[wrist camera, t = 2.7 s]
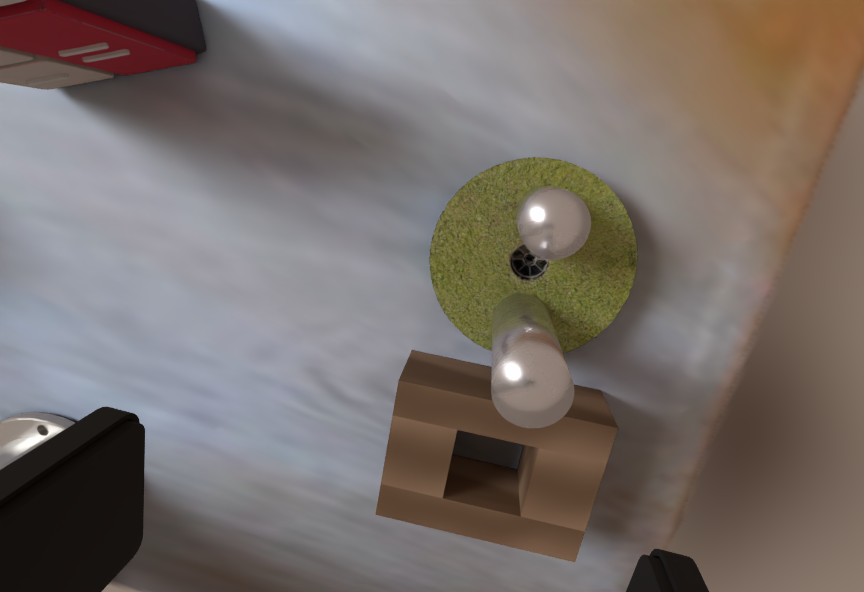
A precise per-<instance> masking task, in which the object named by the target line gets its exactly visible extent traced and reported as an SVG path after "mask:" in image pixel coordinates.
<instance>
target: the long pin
mask: <svg viewBox="0 0 864 592" xmlns="http://www.w3.org/2000/svg"><path fill="white" fill-rule="evenodd" d="M491 395H492V400H493V403H494V405H495V407H496V409H497V411H498V412H499V413H500V414H501V416H503V417H504V418H505V419H506V420H507V421H509V422H511V423H512V424H514V425H517V426H520V427H524V428H533V429H534V428H542V427H546V426H549V425H552V424H554V423H556V422H557V421H559V420H560V419H561V418H563V416H564V415H565V414H566V413H567V412H568V410H569V409H570V407H571V405H572V402H573V399H574V384H573V380H572V378H571V375H570V372H569V369H568V366H567V364H566V361H565V358H564V355H563V352H562V349H561V347H560V344H559V341H558V338H557V335H556V332H555V330H554V327H553V324H552V321H551V318H550V315H549V313H548V310H547V308H546V306H545V305H544V304H543V302H542V301H541V300H539V299H538V298H536V297H535V296H532V295H529V294H524V293H519V294H513V295H510V296H508V297H506V298H504V299H503V300H502V301H501V302H500V303H499V304H498V305H497V307H496V308H495V310H494V313H493V318H492V377H491Z"/></svg>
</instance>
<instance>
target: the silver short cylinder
mask: <svg viewBox="0 0 864 592" xmlns="http://www.w3.org/2000/svg"><path fill="white" fill-rule="evenodd" d="M516 224H517V227H518V230H519V233H520V236H521V239H522V241H523V243H524V245H525V246H526V247H527V248H528V249H529V250H530V251H531V252H532V253H533V254H535V255H537V256H538V257H541V258H544V259H549V260H557V259H563V258H566V257H569V256H571V255H572V254H574V253H575V252H577V251H578V250H579V249H580V248H581V247H582V246H583V245H584V243H585V242H586V240H587V238H588V236H589V233H590V229H591V217H590V213H589V210H588V208H587V206H586V204H585V203H584V202H583V200H582V199H581V198H579V197H578V196H577V195H575V194H574V193H572V192H569V191H567V190H564V189H562V188H559V187H556V186H551V185H544V186H539V187H536V188H534V189H532V190H530V191H529V192H528V193H526V194H525V195H524V196H523V198H522V199H521V200H520V202H519V204H518V206H517V210H516Z"/></svg>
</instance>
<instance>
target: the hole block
mask: <svg viewBox="0 0 864 592" xmlns="http://www.w3.org/2000/svg"><path fill="white" fill-rule="evenodd" d="M491 377H492V367H489V366H484V365H479V364H474V363H470V362H465V361H460V360H456V359H451V358H446V357H442V356H437V355H432V354H428V353H423V352H418V351H414V350H412V351H411V354H410V356H409V358H408V360H407V363H406V365H405V367H404V370H403V372H402V374H401V376H400V379H399V382H398V388H397V393H396V399H395V405H394V411H393V417H392V423H391V428H390V434H389V440H388V446H387V452H386V457H385V463H384V469H383V475H382V481H381V486H380V492H379V498H378V504H377V510H376V515H380V516H384V517H388V518H392V519H396V520H401V521H405V522H409V523H413V524H417V525H422V526H426V527H430V528H434V529H438V530H442V531H447V532H451V533H455V534H459V535H463V536H468V537H472V538H476V539H480V540H484V541H488V542H493V543H497V544H501V545H505V546H509V547H514V548H518V549H522V550H526V551H530V552H534V553H539V554H543V555H547V556H551V557H555V558H560V559H564V560H568V561H572V562H575V561H576V558H577V555H578V551H579V548H580V545H581V542H582V539H583V536H584V533H585V530H586V527H587V523H588V520H589V517H590V514H591V511H592V508H593V505H594V502H595V499H596V496H597V492H598V489H599V486H600V483H601V480H602V477H603V474H604V471H605V468H606V465H607V461H608V458H609V455H610V452H611V449H612V446H613V443H614V440H615V437H616V434H617V430H618V427H617V425H616V422H615V420H614V418H613V416H612V414H611V412H610V409H609V407H608V405H607V403H606V401H605V399H604V397H603V394H602V392H601V390H596V389H592V388H587V387H582V386H578V385H574V399H573V402H572V405H571V407H570V409H569V410H568V412H567V413H566V414H565V415H564V416H563V418H561V419H560V420H559V421H557V422H556V423H554V424H552V425H549V426H546V427H542V428H534V429H533V428H524V427H520V426H517V425H514V424H512V423H511V422H509V421H507V420H506V419H505V418H504V417H503V416H501V414H500V413H499V412H498V411H497V409H496V407H495V405H494V403H493V400H492V395H491ZM457 430H460V431H465V432H469V433H474V434H478V435H483V436H487V437H491V438H496V439H500V440H505V441H509V442H514V443H518V444H523V445H524V446H523V450H522V453H521V457H520V461H519V465H518V469H512V468H508V467H503V466H499V465H495V464H490V463H486V462H481V461H477V460H473V459H468V458H464V457H459V456H455V455H452V452H453V448H454V443H455V438H456V434H457Z"/></svg>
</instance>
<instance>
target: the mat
mask: <svg viewBox="0 0 864 592" xmlns="http://www.w3.org/2000/svg"><path fill="white" fill-rule="evenodd" d="M544 185H551V186H556V187H559V188H562V189H564V190H567V191H569V192H572V193H574V194H575V195H577V196H578V197H579V198H581V199H582V200H583V202H584V203H585V204H586V206H587V208H588V210H589V213H590V217H591V229H590V233H589V236H588V238H587V240H586V242H585V243H584V245H583V246H582V247H581V248H580V249H579V250H578V251H577V252H575V253H574V254H572V255H571V256H569V257H566V258H563V259H557V260H549V259H544V258H541V257H538V256H537V255H535V254H533V253H532V252H531V251H530V250H529V249H528V248H527V247H526V246H525V245H524V243H523V241H522V239H521V236H520V233H519V230H518V227H517V224H516V210H517V206H518V204H519V202H520V200H521V199H522V198H523V196H524V195H525V194H526V193H528V192H529V191H530V190H532V189H534V188H536V187H539V186H544ZM440 219H441V220H439V221H438V222H437V225H436V229H435V231H434V235H433V238H432V243H431V249H430V265H431V266H430V271H431V279H432V283H433V288H434V291H435V293H436V296H437V299H438V301H439V303H440V305H441V307H442V309H443V311H444V313H445V314H446V315H447V316H448V318H449V319H450V321H451V322H452V323H453V325H454V326H455V327H457V328H458V329H459V330H460V331H461V332H462V333H463V334H464V335H465V336H467V337H468V338H469V339H471V340H472V341H473V342H474V343H477V345H480V346H482V347H483V348H485V349H488V350H491V351H492V318H493V313H494V310H495V308H496V307H497V305H498V304H499V303H500V302H501V301H502V300H503V299H504V298H506V297H508V296H510V295H513V294H519V293H524V294H529V295H532V296H535V297H536V298H538V299H539V300H541V301H542V302H543V304H544V305H545V306H546V308H547V310H548V313H549V315H550V318H551V321H552V324H553V327H554V330H555V332H556V335H557V338H558V341H559V344H560V347H561V349H562V352H563V353H565V352H568V351H571V350H573V349H575V348H578V347H580V346H582V345H584V344H585V343H587V342H589V341H590V340H591V339H593V338H596V337H597V334H599V333H601V332H602V331H603V330H604V329H605V328H607V327H608V325H609V323H612V321H613V320H614V319H615V318H616V316H617V314H618V313H619V312H620V310H621V308H622V305H623V304H624V303H625V301H626V300H627V298H628V296H629V294H630V290H631V288H632V286H633V282H634V278H635V276H634V275H636V266H637V258H638V256H637V254H636V253H637V242H636V238H635V233H634V229H633V225H632V222H631V219H630V218H629V215H628V214H627V212H626V209H625V208H624V206H623V203H621V201H620V200H619V198H618V197H617V195H616V194H615V193H614V192H613V191H612V189H611V188H610V187H609V186H607V185H606V184H605V183H604V182H603V181H602V180H601V179H599V178H598V177H596V176H595V175H594V174H592V173H590V172H589V171H587V170H585V169H583V168H581V167H579V166H577V165H575V164H572V163H568V162H565V161H561V160H555V159H549V158H536V157H534V158H524V159H517V160H514V161H508V162H505V163H503V164H499V165H497V166H494V167H492V168H491V169H488V170H486V171H485V172H482V173H480V174H479V175H477V176H475V177H474V178H473V179H471V180H470V181H469V182H467V184H466V185H465V186H463V187H462V188H461V189H460V190H459V191H458V192H457V193H456V194H455V196H454V197H453V198H452V199H451V200H450V201H449V202H448V204H447V206H446V208H445V210H444V211H443V213H442V215H441V216H440Z"/></svg>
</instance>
